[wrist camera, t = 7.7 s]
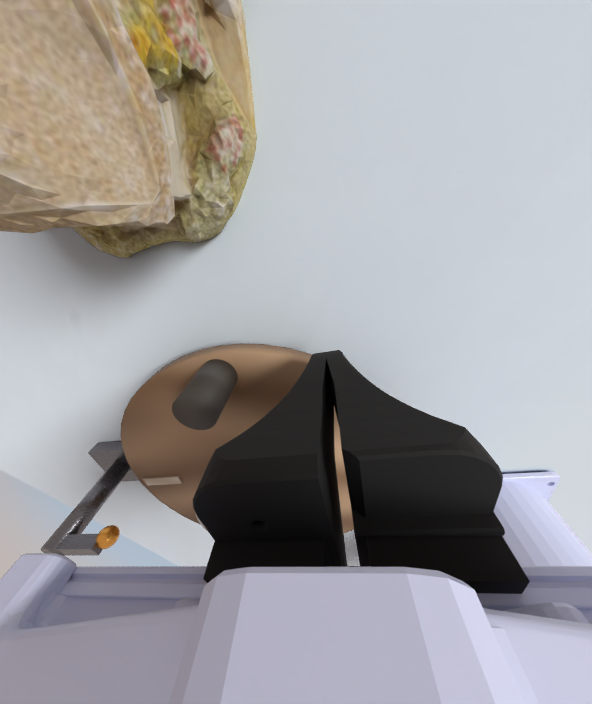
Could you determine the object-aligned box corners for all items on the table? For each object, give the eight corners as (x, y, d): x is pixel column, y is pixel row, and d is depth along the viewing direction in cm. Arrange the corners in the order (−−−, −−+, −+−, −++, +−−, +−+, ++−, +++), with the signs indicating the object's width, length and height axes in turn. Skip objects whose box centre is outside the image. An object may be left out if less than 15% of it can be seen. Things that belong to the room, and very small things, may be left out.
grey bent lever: (178, 467, 21) (123, 566, 15) (122, 471, 22) (48, 566, 16) (158, 437, 19) (86, 535, 13) (97, 443, 20) (3, 537, 14)
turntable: (398, 524, 21) (416, 588, 17) (196, 529, 24) (174, 584, 20) (403, 317, 12) (445, 360, 8) (73, 367, 15) (-7, 414, 11)
